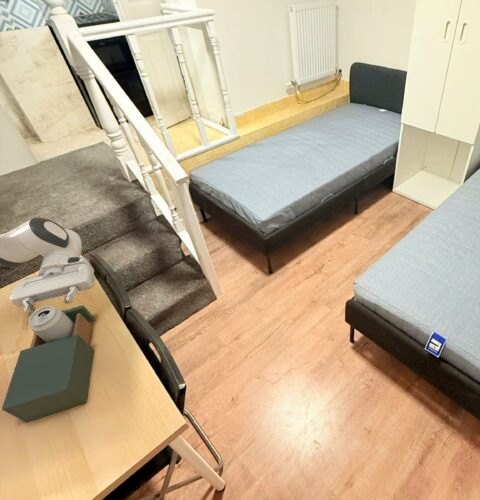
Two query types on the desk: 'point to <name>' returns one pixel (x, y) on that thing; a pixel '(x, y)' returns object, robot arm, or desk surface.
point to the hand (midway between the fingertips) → (48, 307)
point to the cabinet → (50, 379)
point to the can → (51, 324)
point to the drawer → (81, 321)
